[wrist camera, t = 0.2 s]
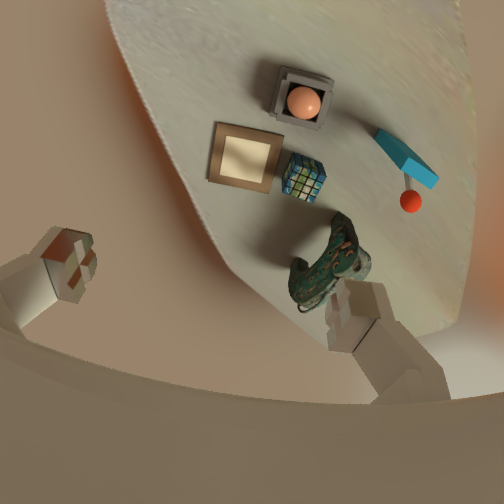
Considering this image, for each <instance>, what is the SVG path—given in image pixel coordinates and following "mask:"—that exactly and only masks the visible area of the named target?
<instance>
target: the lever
mask: <svg viewBox="0 0 504 504" xmlns="http://www.w3.org/2000/svg"><path fill="white" fill-rule="evenodd" d="M374 140H375V141H376V142H377V143H378V144H379V145H380V146H381V148H382V149H383V150H384V151H385V152H386V153H387V154H388V156H389V157H390V158H391V159H392V160H393V162H394V163H395V164H396V165H397V166H398V168H399V169H400V170H402V171H403V172H404V177H405V186H406V191H405V192H403V194H402V195H401V197H400V204H401V207H402V208H403V209H404V210H405V211H406V212H409V213H414V212H416V211H418V210H419V208H420V207H421V203H422V201H421V197H420V195H419V194H418V193H417V192H416V191H414V190H413V185H412V177H413V178H414V179H416V180H417V181H419V182H420V183H422V184H423V185H425V186H426V187H428V188H429V189H432V188H433V187H434V185H435V184H436V182H437V181H438V179H439V177H438V176H437V175H436V174H435V173H434V172H433V171H432V169H431V168H430V167H429V166H428V165H427V164H426V163H425V162H424V161H423V160H422V159H421V158H420V157H419V156H418V155H417V154H416V153H415V152H414V151H412V150H411V149H410V148H409V147H408V146H407V145H406V144H404V143H402V142H401V141H399V140H398V139H396V138H395V137H393V136H391V135H390V134H388V133H387V132H385V131H383V130H382V129H379V131H378V133H377V134H376V136H375V138H374Z"/></svg>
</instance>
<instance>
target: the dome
mask: <svg viewBox="0 0 504 504" xmlns="http://www.w3.org/2000/svg"><path fill="white" fill-rule="evenodd" d="M287 104H288V108H289V110H290V112H291V113H292V114H293V115H294V116H295V117H297V118H300V119H310V118H313V117H314V116H315V115H317V113H318V112H319V110H320V107H321V102H320V98H319V96H318V95H317V94H316V92H315V91H314V90H313V89H312V88H310V87H308V86H296V87H294V88H293V89H291V90H290V92H289V93H288V96H287Z"/></svg>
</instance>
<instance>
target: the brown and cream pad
mask: <svg viewBox="0 0 504 504" xmlns="http://www.w3.org/2000/svg"><path fill="white" fill-rule="evenodd" d="M283 139H284V136H283V135H279V134H275V133H270V132H266V131H261V130H257V129H252V128H247V127H242V126H237V125H232V124H226V123H221V122H218V123H217V129H216V135H215V141H214V147H213V153H212V159H211V165H210V172H209V179H208V182H213V183H218V184H223V185H228V186H233V187H238V188H243V189H248V190H253V191H257V192H262V193H267V194H269V192H270V188H271V184H272V180H273V177H274V173H275V169H276V165H277V162H278V158H279V154H280V150H281V147H282V143H283Z"/></svg>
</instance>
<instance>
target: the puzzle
mask: <svg viewBox="0 0 504 504" xmlns="http://www.w3.org/2000/svg"><path fill="white" fill-rule="evenodd" d="M326 177H327V176H326V173H325V170H324V167H323V164H322V163H320V162H318V161H315V160H313V159H311V158H308V157H306V156H303V155H300V154H298V153H295V152H293V154H292V156H291V159H290V161H289V163H288V166H287V167H286V169H285V172H284V174H283V176H282V192H283V193H285V194H288V195H291V196H293V197H296V198H299V199H301V200H304V201H307V202H309V203H313V202H314V200H315V198H316V196H317V195H318V193H319V190H320V189H321V187H322V185H323V183H324V181H325V179H326Z"/></svg>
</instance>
